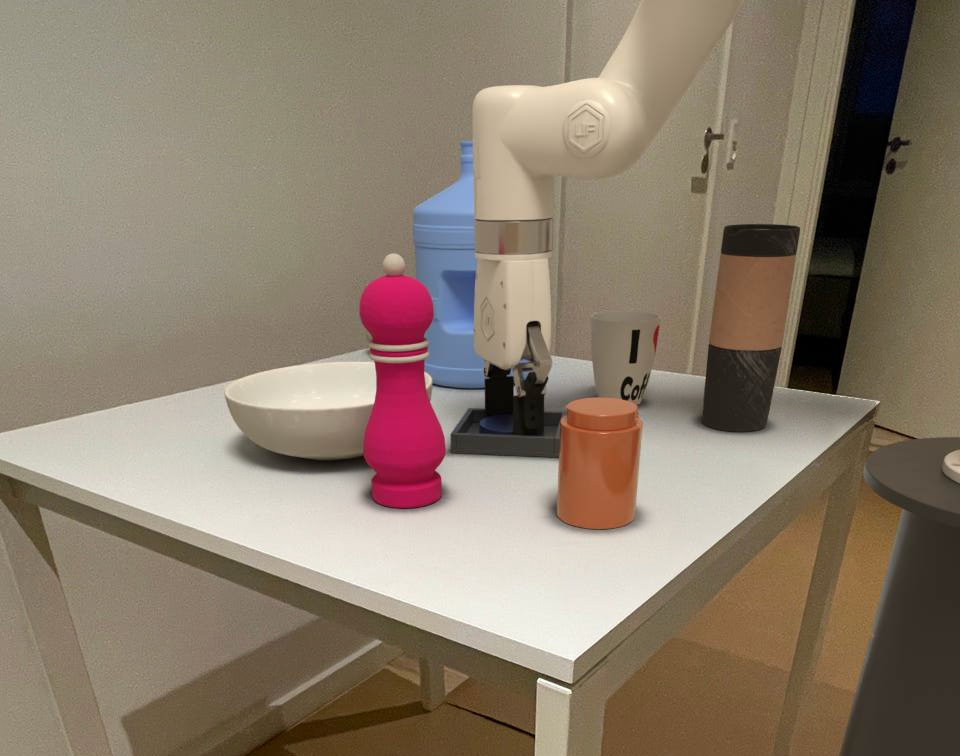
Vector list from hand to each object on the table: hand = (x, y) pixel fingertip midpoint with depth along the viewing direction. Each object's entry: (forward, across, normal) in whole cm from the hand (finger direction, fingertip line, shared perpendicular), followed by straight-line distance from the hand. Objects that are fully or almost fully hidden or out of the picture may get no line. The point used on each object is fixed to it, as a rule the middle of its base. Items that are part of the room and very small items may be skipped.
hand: (513, 423), depth 89 cm
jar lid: (0, 0, 0) cm, 0 cm away
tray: (+2, 0, 0) cm, 2 cm away
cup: (+2, -10, +18) cm, 21 cm away
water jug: (+2, -30, +7) cm, 30 cm away
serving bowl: (+2, -5, -18) cm, 19 cm away
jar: (+2, +22, -2) cm, 22 cm away
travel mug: (+2, +3, +26) cm, 26 cm away
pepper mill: (+2, +12, -15) cm, 20 cm away
